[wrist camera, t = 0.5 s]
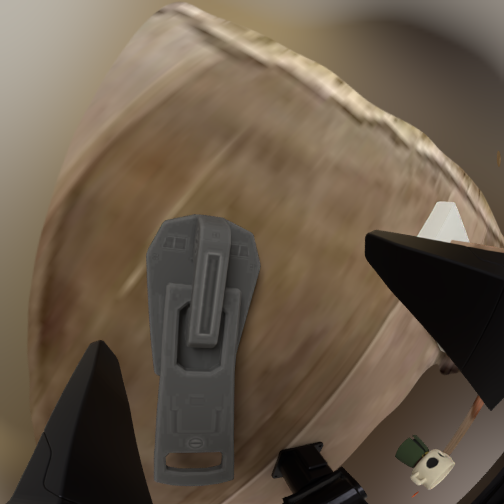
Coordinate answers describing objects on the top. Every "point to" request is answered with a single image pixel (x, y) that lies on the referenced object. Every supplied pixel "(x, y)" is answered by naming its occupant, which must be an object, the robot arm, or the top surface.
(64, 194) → the top surface
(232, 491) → the top surface
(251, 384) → the top surface
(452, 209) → the mounting board
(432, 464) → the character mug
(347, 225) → the top surface
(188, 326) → the zipper pull
